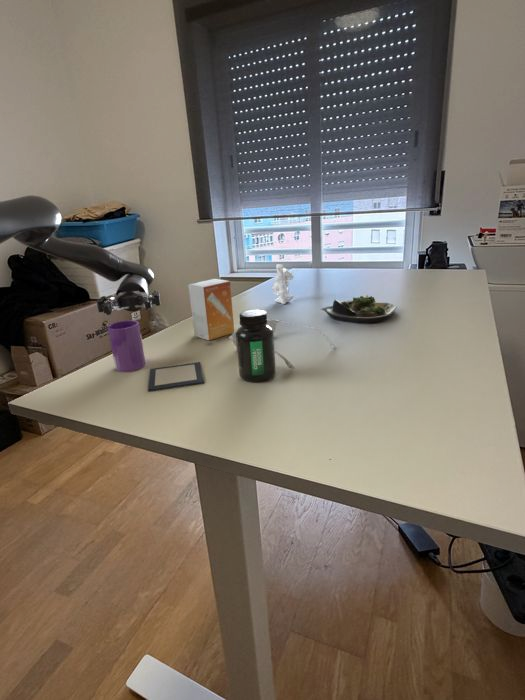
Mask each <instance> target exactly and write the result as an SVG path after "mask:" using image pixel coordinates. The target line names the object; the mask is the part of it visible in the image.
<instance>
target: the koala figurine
mask: <svg viewBox="0 0 525 700" xmlns="http://www.w3.org/2000/svg"><path fill="white" fill-rule="evenodd" d="M275 268H276V270H275V271H276V276H275V277H274V283H272V287H271V290H272V293H273V294H274V295H275V296H278V297H277V298H274V299H273V302H275V303H279V304H282V305H286V304H287V303H291V301H292V299H293V298H294V297H295V296H294V294H290V295H289V292H290V289H289V287H288V286H289V285H290V283H289V281H292V280H293V279H294V278H295V277H294V275H293V274H292V272H291V271H290V270H289V269H287V267H284V265H283V263H282V264H281V263H276V265H275Z"/></svg>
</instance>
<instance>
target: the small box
mask: <svg viewBox="0 0 525 700" xmlns="http://www.w3.org/2000/svg"><path fill="white" fill-rule="evenodd" d="M187 286H188V294H189V301H190V310H191V316H192V317H191V318H192V327H193V333H194V337H197V338H200V339H203V340H207V341H212V340H215V339H218V338H221V337H223V336H227V335H230V334H233V333H235V324H234V311H233V301H232V300H233V299H232V288H231V281H230V280H226V279H220V278H211V279H208V280H201V281H198V282H193V283H190V284H189V283H188V284H187Z"/></svg>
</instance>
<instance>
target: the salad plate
mask: <svg viewBox="0 0 525 700" xmlns="http://www.w3.org/2000/svg"><path fill="white" fill-rule="evenodd" d="M332 302H333V303H332V305H329V306H328V305H327V306H324V307H321V308H320V310H321V311H323V312H325V313H326V314H327V315H328V316H329V317H330V319H332V320H334V321H338V322H344V323H352V324H366V325H367V324H378V323H381V322H383V321H385V320H387V319H388V318H390V316H391V315H392V314H394V312H395V311H396V309H397V306H396V304H394V303H390V302H377V301H376V299H375V297H374V296H372V295H371V296H369V295H365V296H363V295H360V296H357V297H352V299H351V300H342V301H339V300H337V299H334V300H333V301H332Z"/></svg>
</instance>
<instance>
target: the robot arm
mask: <svg viewBox="0 0 525 700" xmlns="http://www.w3.org/2000/svg"><path fill="white" fill-rule="evenodd" d="M61 223H62V214H61V211H60V209H59V208H58V207H57V205H56V204H55V203H53V202H52V201H51V200H49V199H48V198H45V197H43V196H39V195H24V196H20V197H16V198H11V199H7V200H1V201H0V245H2V244H3V243H5V242H7V241H8V240H11V239H14V240H15V241H17V242H18V243H20V244H22V245H23V246H26V247H28V248H31V249H32V250H36V251H39V252H41V253H43V254H46V255H49V256H52V257H55V258H58V259H61V260H64V261H67V262H69V263H73V264H75V265H78V266H80V267H82V268H85V269H87V270H89V271H91V272H93V273H95V274H97V275H98V276H100V277H102V278H104V279H105V280H107V281H109V282H113V283H115V282H118V281H119V280H121V279H122V281H121V282H120V284H119V286H118V287H117V290H116V292H115V295H113V296H110V298H108V297H107V295H102V296H101V297H99V298H98V299H97V300H96V306H97V311H98V313H103V314H106V316H111V314H112V313H113V312H120V311H122V310H125V311H127V312H138V311H140V310H142V309H145V311H150V309H152V308H153V307H154V305H155V306H157V307H159V306H161V305H162V303H161V298H160V291H159V290H154V291H152V292H151V293H150V294H149V287H150V286H151V285H152V283H153V282H154V280H155V274H154V272H153V270H151V268H149V267H147V266H146V265H145V264H141V263H137V262H136V263H135V262H132V261H129V260H125V259H123V258H121V257H119V256H117V255H116V254H114V253H112V252H111V251H109V250H107V249H106V248H103V247H101V246H99V245H96V244H89V243H83V242H74V241H69V240H65V239H62V238H59V237H56V236H54V235H53V234H54V233H56V231H57V230H58V229H59V227H60V226H61ZM123 277H124V278H123Z"/></svg>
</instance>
